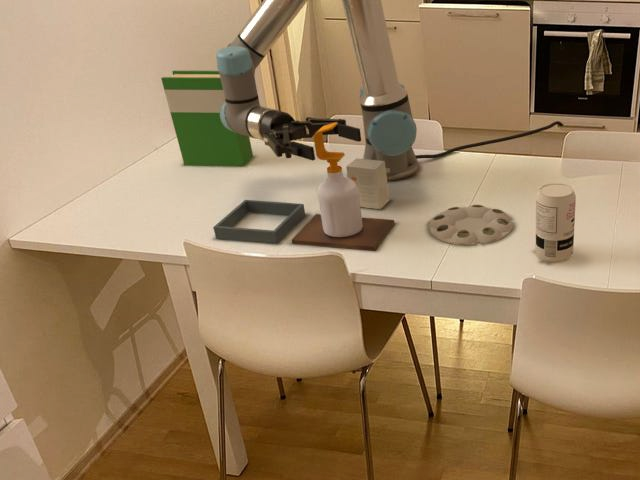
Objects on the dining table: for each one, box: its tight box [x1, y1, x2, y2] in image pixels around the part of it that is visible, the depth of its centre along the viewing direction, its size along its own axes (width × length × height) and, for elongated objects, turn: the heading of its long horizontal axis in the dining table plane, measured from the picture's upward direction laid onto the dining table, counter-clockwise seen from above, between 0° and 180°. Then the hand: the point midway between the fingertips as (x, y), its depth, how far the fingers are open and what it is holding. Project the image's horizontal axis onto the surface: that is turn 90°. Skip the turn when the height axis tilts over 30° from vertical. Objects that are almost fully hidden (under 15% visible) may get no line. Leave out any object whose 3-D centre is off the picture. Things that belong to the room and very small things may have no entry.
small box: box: [345, 158, 391, 210], centre depth 186 cm, size 8×6×10 cm
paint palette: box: [429, 204, 514, 246], centre depth 176 cm, size 20×20×2 cm
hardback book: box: [160, 70, 254, 167], centre depth 209 cm, size 18×7×24 cm, turn 83°
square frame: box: [212, 199, 306, 245], centre depth 179 cm, size 16×16×3 cm
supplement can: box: [534, 182, 577, 263], centre depth 159 cm, size 8×8×15 cm
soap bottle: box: [313, 122, 363, 237], centre depth 168 cm, size 9×9×25 cm
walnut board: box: [291, 213, 396, 252], centre depth 175 cm, size 20×14×1 cm
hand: (337, 144), depth 162 cm, fingers open, 13 cm apart
